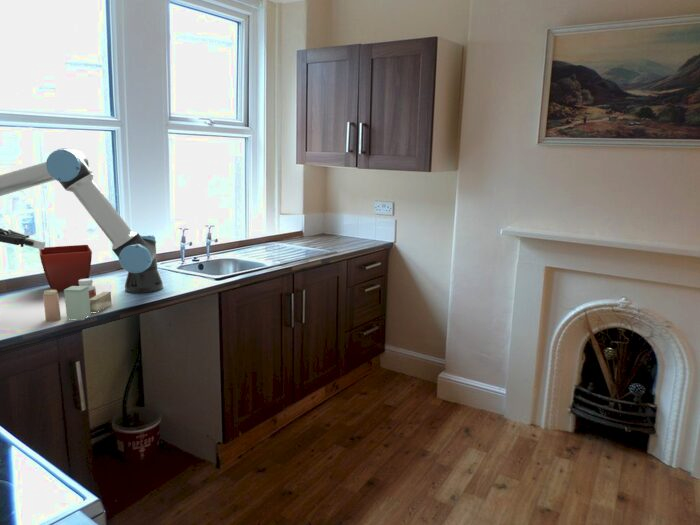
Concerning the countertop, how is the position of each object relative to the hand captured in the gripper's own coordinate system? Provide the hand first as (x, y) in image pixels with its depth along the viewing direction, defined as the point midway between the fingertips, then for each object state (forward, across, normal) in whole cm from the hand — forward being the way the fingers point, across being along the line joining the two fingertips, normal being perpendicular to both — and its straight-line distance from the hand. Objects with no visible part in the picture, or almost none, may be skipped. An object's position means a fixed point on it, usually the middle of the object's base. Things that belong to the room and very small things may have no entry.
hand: (43, 245), depth 205 cm
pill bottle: (+21, +3, -19) cm, 28 cm away
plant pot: (-1, -30, -24) cm, 38 cm away
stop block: (+26, +3, -17) cm, 31 cm away
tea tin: (+23, +14, -18) cm, 33 cm away
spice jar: (+15, +16, -20) cm, 30 cm away
